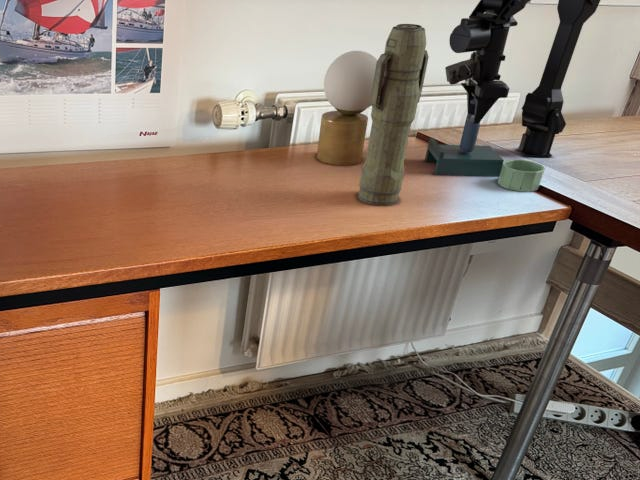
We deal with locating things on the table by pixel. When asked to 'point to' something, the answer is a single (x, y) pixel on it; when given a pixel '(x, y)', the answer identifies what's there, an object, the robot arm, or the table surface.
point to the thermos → (393, 113)
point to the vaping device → (470, 130)
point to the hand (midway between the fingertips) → (473, 119)
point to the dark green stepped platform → (463, 160)
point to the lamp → (346, 108)
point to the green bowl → (521, 175)
